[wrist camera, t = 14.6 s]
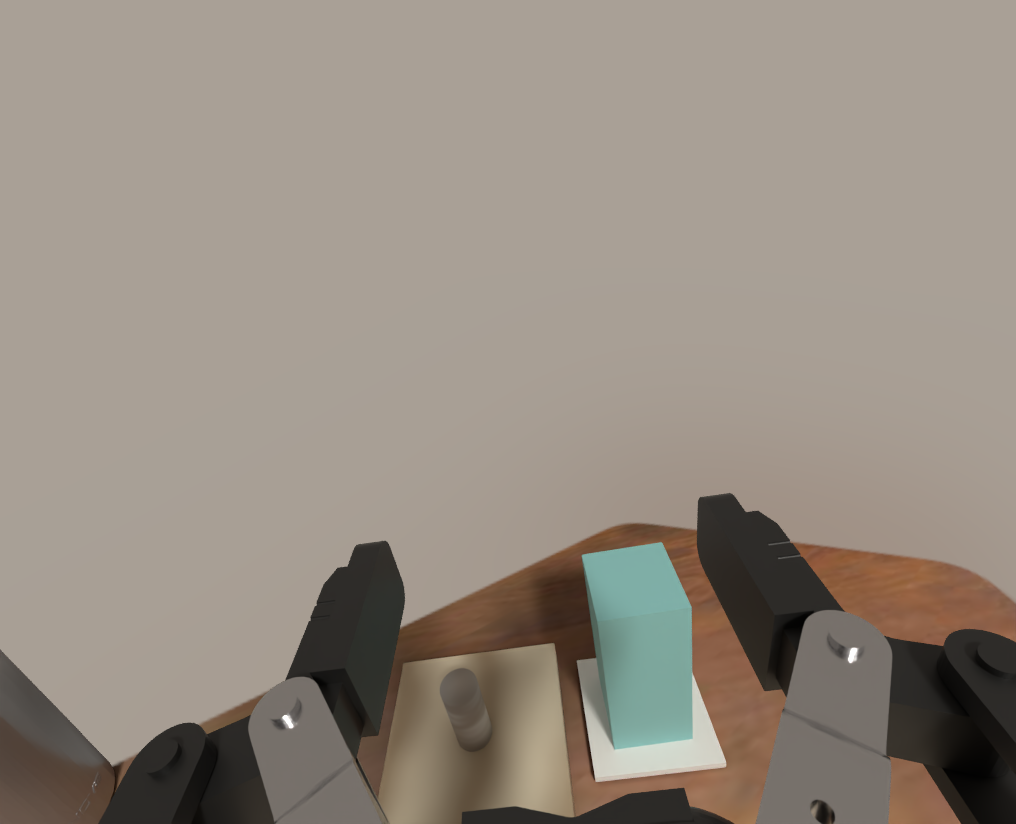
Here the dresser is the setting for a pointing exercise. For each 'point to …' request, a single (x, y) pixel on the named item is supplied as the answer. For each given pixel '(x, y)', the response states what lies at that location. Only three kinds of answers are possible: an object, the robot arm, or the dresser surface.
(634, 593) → the tall teal pillar
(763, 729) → the dresser surface
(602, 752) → the mat
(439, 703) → the post stand
